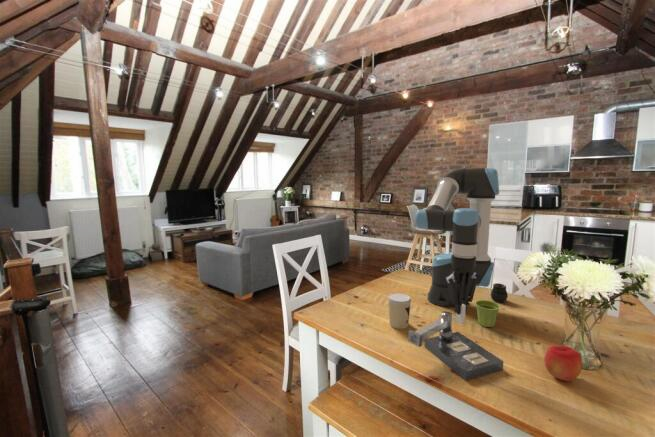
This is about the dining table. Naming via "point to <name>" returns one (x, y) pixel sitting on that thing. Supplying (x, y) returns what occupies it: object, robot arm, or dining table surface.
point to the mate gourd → (499, 292)
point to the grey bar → (431, 329)
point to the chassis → (463, 355)
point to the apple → (563, 362)
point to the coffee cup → (399, 310)
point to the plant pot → (487, 312)
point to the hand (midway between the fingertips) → (460, 321)
